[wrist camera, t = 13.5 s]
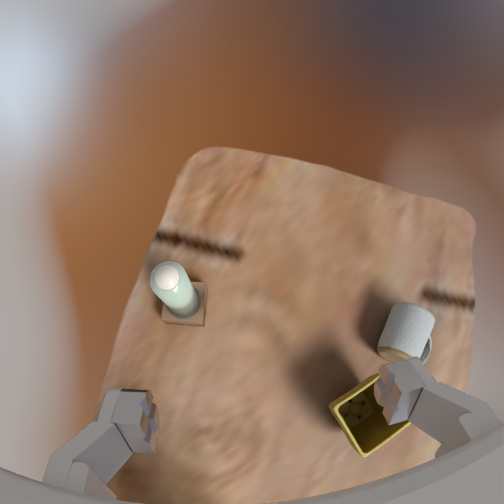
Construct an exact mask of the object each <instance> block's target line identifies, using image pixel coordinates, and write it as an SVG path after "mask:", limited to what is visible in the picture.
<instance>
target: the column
mask: <svg viewBox="0 0 504 504" xmlns="http://www.w3.org/2000/svg"><path fill="white" fill-rule="evenodd" d="M150 286H151V288H152V290H153V292H154V293H155V294H156V295H157V296H158V297H159V298H160V299H161V300H162V301H163V302H164V303H165V304H166V305H167V306H168V307H169V308H170V309H171V310H172V311H173V312H174V313H175V314H177V315H180V316H186V315H189V314H191V313H193V312H194V311H195V309H196V308H197V306H198V296H197V293H196V291H195V289H194V288H193V286H192V284H191V282H190V280H189V278H188V276H187V274H186V272H185V270H184V268H183V267H182V266H181V265H180V264H178V263H176V262H173V261H166V262H162V263H160V264H159V265H157V266H156V267H155V268H154V269H153V271H152V273H151V275H150Z"/></svg>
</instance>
